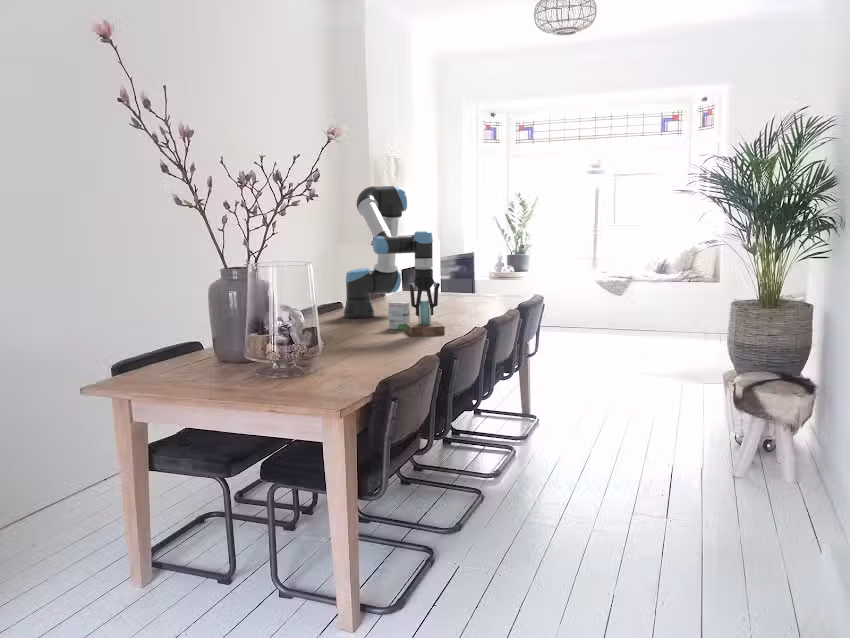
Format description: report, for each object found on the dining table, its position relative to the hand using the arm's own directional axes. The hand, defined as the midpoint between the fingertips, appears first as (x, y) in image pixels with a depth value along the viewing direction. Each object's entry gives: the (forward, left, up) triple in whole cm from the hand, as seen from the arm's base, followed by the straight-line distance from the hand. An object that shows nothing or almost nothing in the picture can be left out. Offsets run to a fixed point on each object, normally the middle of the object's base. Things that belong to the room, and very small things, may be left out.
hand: (424, 323), depth 301 cm
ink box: (-13, -9, -4) cm, 16 cm away
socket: (0, 0, -4) cm, 4 cm away
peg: (0, 0, -2) cm, 2 cm away
